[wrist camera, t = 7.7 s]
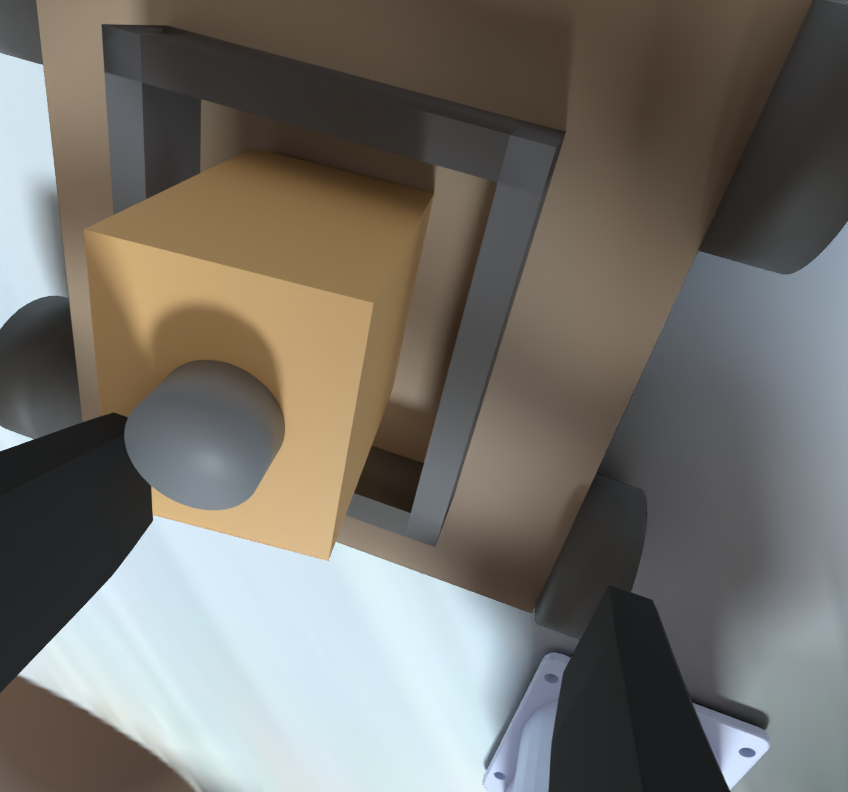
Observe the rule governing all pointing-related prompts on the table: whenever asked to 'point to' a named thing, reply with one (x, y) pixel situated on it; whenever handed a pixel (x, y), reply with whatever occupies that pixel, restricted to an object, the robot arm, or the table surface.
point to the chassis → (465, 224)
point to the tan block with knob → (255, 339)
